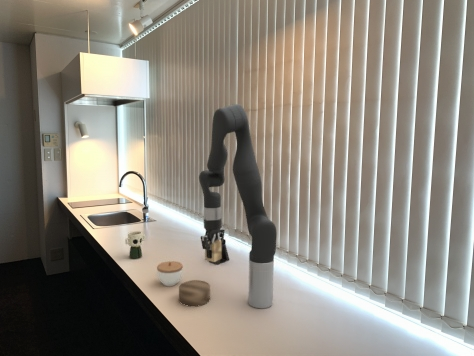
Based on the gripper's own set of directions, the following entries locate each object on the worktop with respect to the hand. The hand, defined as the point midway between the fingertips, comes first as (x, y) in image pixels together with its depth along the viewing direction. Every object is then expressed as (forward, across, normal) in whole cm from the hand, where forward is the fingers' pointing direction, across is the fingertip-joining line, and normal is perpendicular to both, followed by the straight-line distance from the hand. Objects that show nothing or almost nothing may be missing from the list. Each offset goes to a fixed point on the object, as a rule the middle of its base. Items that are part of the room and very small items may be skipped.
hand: (213, 255), depth 150 cm
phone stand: (+12, -22, -14) cm, 29 cm away
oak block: (+1, 0, 0) cm, 1 cm away
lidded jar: (+12, +11, -15) cm, 22 cm away
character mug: (+11, -1, -52) cm, 53 cm away
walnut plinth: (+12, +16, +3) cm, 20 cm away
